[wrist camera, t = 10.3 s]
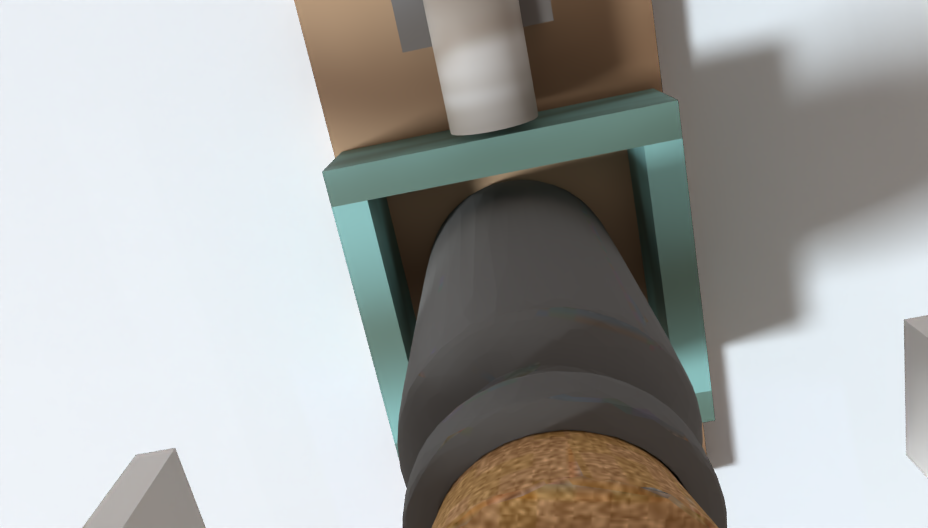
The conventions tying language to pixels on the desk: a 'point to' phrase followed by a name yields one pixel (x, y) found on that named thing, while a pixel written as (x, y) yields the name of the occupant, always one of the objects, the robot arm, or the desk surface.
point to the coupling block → (499, 146)
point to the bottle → (545, 380)
